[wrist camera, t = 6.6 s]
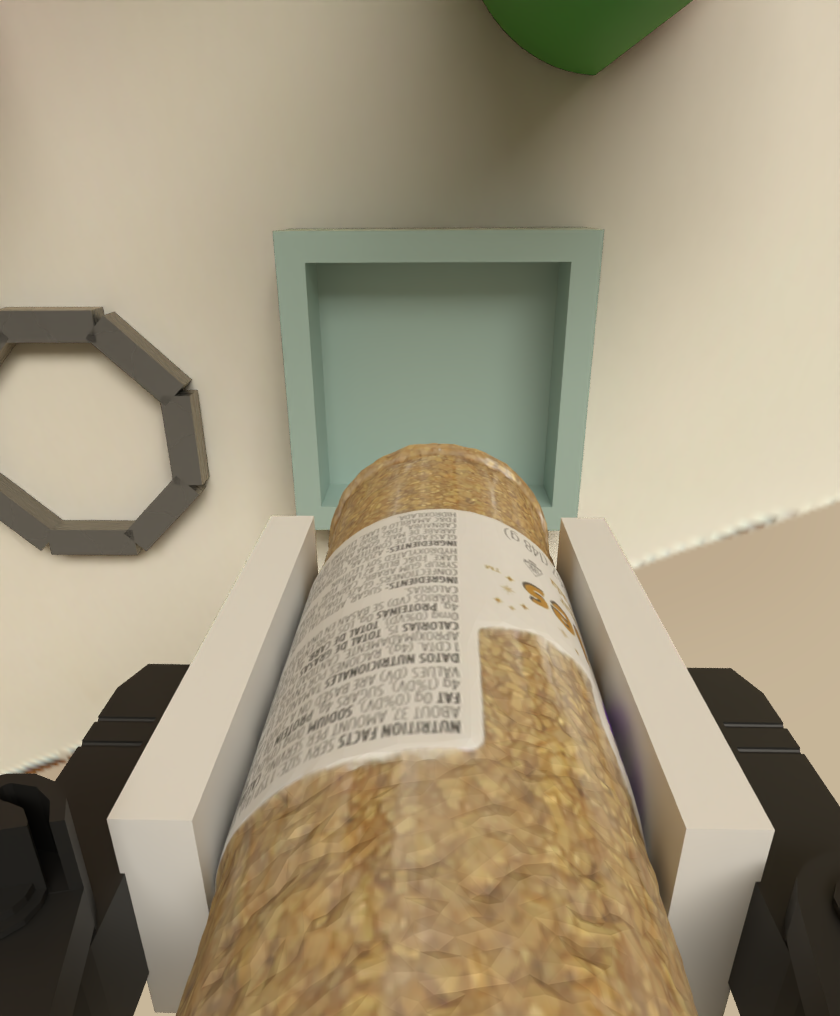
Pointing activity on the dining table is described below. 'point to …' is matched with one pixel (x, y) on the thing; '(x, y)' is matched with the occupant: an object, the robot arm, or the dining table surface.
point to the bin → (437, 351)
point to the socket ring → (179, 421)
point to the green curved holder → (580, 28)
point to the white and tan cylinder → (437, 783)
